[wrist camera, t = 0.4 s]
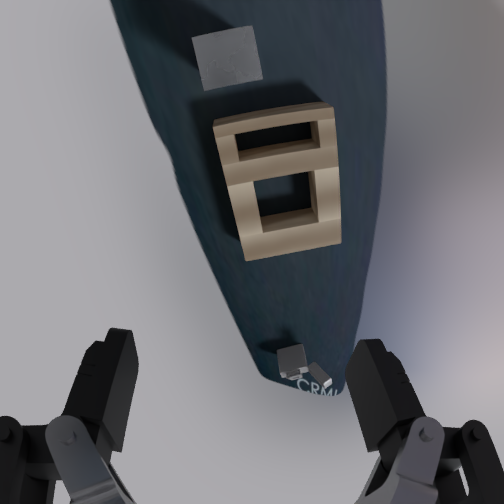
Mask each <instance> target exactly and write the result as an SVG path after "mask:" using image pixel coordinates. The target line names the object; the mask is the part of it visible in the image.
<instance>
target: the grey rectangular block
mask: <svg viewBox="0 0 504 504" xmlns="http://www.w3.org/2000/svg"><path fill="white" fill-rule="evenodd" d="M192 41H193V46H194V50H195V54H196V58H197V63H198V67H199V71H200V75H201V79H202V84H203V88H204V91H206V90H211V89H215V88H220V87H224V86H229V85H234V84H239V83H244V82H250V81H256V80H262V79H263V76H262V71H261V66H260V61H259V56H258V51H257V46H256V41H255V36H254V31H253V27H252V26H245V27H239V28H234V29H228V30H223V31H218V32H214V33H209V34H205V35H201V36H196V37H192Z"/></svg>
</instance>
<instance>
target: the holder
mask: <svg viewBox="0 0 504 504" xmlns="http://www.w3.org/2000/svg"><path fill="white" fill-rule="evenodd" d="M309 121H310V127H311V135H312V139H305V140H298V141H292V142H286V143H280V144H274V145H268V146H263V147H257V148H252V149H247V150H242V151H238V147H237V143H236V138H235V134H238V133H243V132H248V131H254V130H259V129H264V128H270V127H276V126H282V125H289V124H295V123H302V122H309ZM213 131H214V135H215V139H216V143H217V147H218V151H219V155H220V159H221V163H222V168H223V172H224V176H225V180H226V184H227V188H228V192H229V196H230V200H231V204H232V208H233V212H234V216H235V220H236V224H237V228H238V232H239V236H240V240H241V244H242V248H243V252H244V256H245V260H246V261H250V260H255V259H261V258H266V257H271V256H276V255H282V254H287V253H292V252H297V251H303V250H308V249H313V248H318V247H323V246H328V245H334V244H339V243H341V210H340V185H339V167H338V152H337V140H336V128H335V117H334V108H333V107H332V106H330V105H329V104H327V103H325V102H323V101H322V102H313V103H305V104H298V105H290V106H284V107H277V108H271V109H265V110H259V111H254V112H248V113H243V114H238V115H233V116H228V117H223V118H219V119H214V123H213ZM307 171H308V176H309V185H310V195H311V206H312V208H306V209H301V210H295V211H290V212H285V213H279V214H274V215H269V216H263V217H260V215H259V210H258V204H257V200H256V195H255V190H254V185H253V181H257V180H262V179H267V178H273V177H278V176H284V175H289V174H295V173H301V172H307Z"/></svg>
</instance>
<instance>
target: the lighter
mask: <svg viewBox="0 0 504 504" xmlns="http://www.w3.org/2000/svg"><path fill="white" fill-rule="evenodd" d="M277 356H278V363H279V370H280V374H281V376H282V378H284V377H286V378H287V379H290V380H294V379H298V378H302V374H301V373H305V372H308V371H309V372H310V373H311V374H312V376H313V377H314V378H315V379H316V380H317V381H318V382H319V383H320V384H321V385H322V386H323V387H324V388H327V387H328V386H329V385H330V384H332V380H331V378H330V377H329V376H328V375H327V374H326V373H325V372H324V371H323V370H322V369H321V368H320V367H319V366H318V365H317V363H316V362H313V363H311V364H310V365H309V366H307V361H306V356H305V352H304V348H303V345H302V344H298V345H294V346H290V347H286V348H282V349H278V350H277Z"/></svg>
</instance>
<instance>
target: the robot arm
mask: <svg viewBox="0 0 504 504" xmlns="http://www.w3.org/2000/svg"><path fill="white" fill-rule="evenodd" d="M138 365H139V363H138V356H137V351H136V346H135V342H134V337H133V333H132V331H131V330H126V329H117V328H110V329H109V331H108V333H107V336H106V338H105V341H104V342H102V341H95V342H94V343H93V344H92V345H91V346H90V347H89V348H88V349H87V350H86V353H85V355H84V357H83V360H82V362H81V365H80V367H79V370H78V372H77V373H78V374H77V375H76V377H75V380H74V383H73V386H72V388H71V391H70V394H69V397H68V399H67V403H66V405H65V408H64V411H63V413H62V414H61V416H59V417H57V418H55V419H53V420H52V421H51V422H50V423H49V424H47V425H30V426H21V425H20V424H19V422H18V421H17V420H16V419H14V418H12V417H10V416H1V417H0V504H53V497H54V490H55V484H56V480H62V481H63V483H64V485H65V487H66V489H67V491H68V493H69V496H70V498H71V501H70V504H136V502H135V501H134V499H133V498H132V496H131V495H130V493H129V492H128V490H127V489H126V487H125V486H124V484H123V483H122V481H121V479H120V478H119V476H118V474H117V473H116V471H115V469H114V468H113V466H112V464H111V462H110V459H111V454H112V451H117V452H122V447H123V441H124V436H125V431H126V426H127V420H128V416H129V411H130V406H131V402H132V397H133V393H134V388H135V384H136V380H137V375H138V367H139V366H138ZM345 377H346V382H347V385H348V389H349V391H350V395H351V398H352V401H353V404H354V407H355V411H356V414H357V417H358V420H359V424H360V427H361V430H362V434H363V437H364V440H365V443H366V447H367V450H368V452H372V451H378V450H379V453H380V456H379V457H378V459H377V461H376V463H375V466H374V468H373V470H372V472H371V474H370V477H369V479H368V481H367V483H366V485H365V487H364V489H363V491H362V493H361V495H360V497H359V499H358V500H357V501H356V502H355V504H504V471H503V468H502V465H501V463H500V460H499V458H498V455H497V452H496V449H495V447H494V444H493V442H492V439H491V437H490V435H489V432H488V430H487V428H486V427H485V425H484V424H482V423H481V422H480V421H477V420H470V421H468V422H466V423H465V424H464V425H463V426H462V427H461V428H451V427H442V426H441V424H440V423H439V422H438V421H437V420H435V419H433V418H431V417H427V416H426V415H425V413H424V411H423V409H422V406H421V404H420V402H419V400H418V397H417V395H416V393H415V391H414V389H413V387H412V384H411V383H410V382H409V381H410V380H409V378H408V376H407V374H405V370H404V368H403V366H402V364H401V362H400V360H399V359H398V358H397V357H396V356H395V355H394V354H393V353H392V352H387V351H386V348H385V346H384V344H383V342H382V341H381V340H380V339H366V340H365V339H364V340H360V341H359V342H358V343H357V345H356V347H355V350H354V352H353V354H352V356H351V358H350V360H349V362H348V364H347V366H346V371H345ZM461 466H462V468H463V471H464V474H465V477H466V480H467V484H468V487H469V494H468V496H467V495H466V492H465V489H464V485H463V482H462V479H461V476H460V472H459V468H460V467H461Z"/></svg>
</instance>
